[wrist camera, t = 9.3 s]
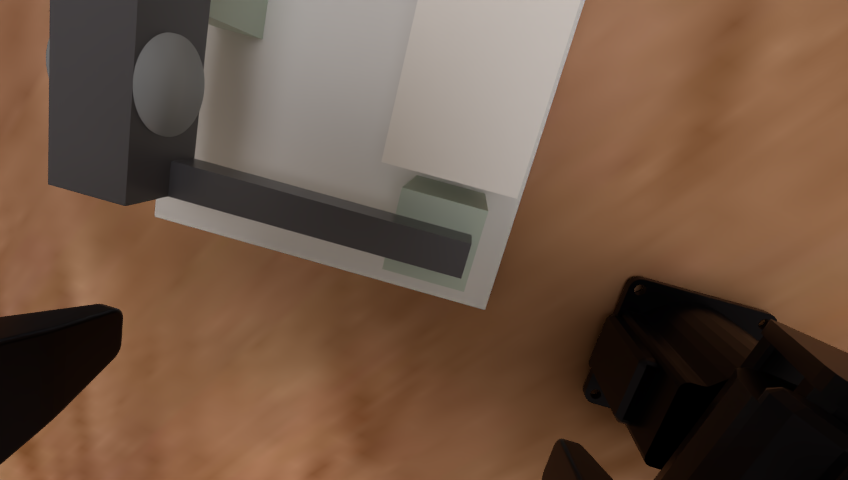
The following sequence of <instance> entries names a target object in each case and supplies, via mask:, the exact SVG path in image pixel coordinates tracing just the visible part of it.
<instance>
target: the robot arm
mask: <svg viewBox="0 0 848 480" xmlns="http://www.w3.org/2000/svg"><path fill="white" fill-rule="evenodd" d="M637 285H643V289H642V290H641V291H639V292H634V288H635V287H636V286H637ZM763 319H765V322H764V323H763V325H760V326H758V324H759V322H760V321H761V320H763ZM122 325H123V314H122V312H121V311H120V310H119V309H117V308H114V307H110V306H107V305H103V304H94V305H87V306H79V307H72V308H64V309H57V310H49V311H42V312H35V313H27V314H20V315H12V316H5V317H0V464H1V463H3V462H4V461H5V460H6V459H7V458H9V457H10V456H11V455H12V454H13V453H14V452H16V451H17V450H18V449H19V448H20V447H21V446H23V445H24V444H25V443H26V442H27V441H29V440H30V439H31V438H32V437H33V436H34V435H36V434H37V433H38V432H39V431H40V430H41V429H43V428H44V427H45V426H46V425H47V424H48V423H49V422H51V421H52V420H53V419H54V418H55V417H56V416H57V415H58V414H59V413H60V412H61V411H62V410H63V409H64V408H65V407H66V406H67V405H68V404H69V403H70V402H71V401H72V400H73V399H74V398H75V397H76V396H77V395H78V394H79V393H80V392H81V391H82V390H83V389H84V388H85V387H86V386H87V385H88V384H89V383H90V382H91V381H92V380H93V379H94V378H95V377H96V376H97V375H98V374H99V373H100V372H101V371H102V370H103V369H104V368H105V367H106V366H107V365H108V364H109V363H110V362H111V361H112V360H113V359H114V358H115V357H116V355H117V354H118V352H119V350H120V347H121V341H122ZM589 365H590V367H591V369H590V372H589V374H588V376H587V379H586V381H585V384H584V386H583V392H584V395H585V397H586V399H587V400H588V401H589V402H591V403H594V404H598V405H601V406H605V407H608V408H611V410H612V412H613V414H614V416H615V418H616V420H617V421H618V422H620V423H623V424H626V426H627V428H628V430H629V432H630V434H631V436H632V438H633V440H634V442H635V444H636V446H637V448H638V449H639V451H640V453H641V455H642V457H643V459H644V461H645V463H646V464H647V465H649V466H651V467H654V468H657V469H661V471H660V472H659V473H658V475H657V476H656V477H655V479H654V480H848V353H846V352H844V351H842V350H840V349H837V348H835V347H833V346H831V345H828V344H826V343H824V342H822V341H820V340H817V339H815V338H813V337H811V336H808V335H806V334H804V333H802V332H799V331H797V330H795V329H793V328H790V327H788V326H786V325H784V324H781V323H779V322H777V319H776V318H775V317H774V316H773V315H771V314H770V313H768V312H766V311H764V310H760V309H757V308H753V307H749V306H746V305H742V304H739V303H735V302H731V301H728V300H724V299H720V298H717V297H713V296H710V295H706V294H702V293H699V292H695V291H692V290H688V289H684V288H681V287H677V286H673V285H670V284H666V283H663V282H659V281H655V280H652V279H648V278H644V277H640V276H636V277H632V278H631V279H629V280H628V282H627V283H626V285H625V287H624V290H623V292H622V295H621V297H620V299H619V302H618V304H617V307H616V309H615V311H614V314H613V315H611V316H609V317H608V318H607V319H606V321H605V323H604V326H603V328H602V331H601V333H600V336H599V338H598V340H597V343H596V345H595V348H594V350H593V353H592V355H591V357H590V360H589ZM595 389H596V390H599V391H598V392H597V393H595V394H591V393H590V392H591V391H592V390H595ZM542 480H613V479H612V478H611V477H610V476H609V475H608V474H607V472H606V471H605V470H604V469H603V468H602V467H601V466H600V465H599V464H598V463H597V462H596V461H595V459H594V458H593V457H592V456H591V455H590V454H589V453H588V452H587V451H586V450H585V449H584V448H583V446H581V445H580V444H578V443H575V442H572V441H568V440H565V439H559V440H557V442H556V443H555V445H554V447H553V450H552V452H551V455H550V457H549V459H548V462H547V464H546V467H545V469H544V472H543V476H542Z"/></svg>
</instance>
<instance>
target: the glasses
mask: <svg viewBox="0 0 848 480" xmlns="http://www.w3.org/2000/svg"><path fill="white" fill-rule="evenodd" d="M210 3H211V0H50V38H49V41H48V45H47V50H46V66H47V72H48V76H49V152H48V184H49V185H53V186H56V187H60V188H63V189H67V190H70V191H74V192H77V193H81V194H84V195H88V196H92V197H95V198H99V199H102V200H106V201H109V202H113V203H116V204H120V205H123V206H128V205H132V204H137V203H141V202H145V201H150V200H154V199H159V198H163V197H172V198H175V199H179V200H182V201H186V202H189V203H193V204H196V205H200V206H204V207H207V208H211V209H214V210H218V211H221V212H225V213H228V214H232V215H236V216H239V217H243V218H246V219H250V220H253V221H257V222H261V223H264V224H268V225H271V226H275V227H278V228H282V229H285V230H289V231H293V232H296V233H300V234H303V235H307V236H310V237H314V238H317V239H321V240H325V241H328V242H332V243H335V244H339V245H342V246H346V247H349V248H353V249H357V250H360V251H364V252H367V253H371V254H374V255H378V256H382V257H385V258H389V259H392V260H396V261H399V262H403V263H406V264H410V265H414V266H417V267H421V268H424V269H428V270H431V271H435V272H438V273H442V274H446V275H449V276H453V277H456V278H460V279H461V278H462V275H463V271H464V268H465V265H466V261H467V258H468V254H469V251H470V248H471V244H472V235H470V234H467V233H463V232H459V231H456V230H452V229H449V228H445V227H441V226H438V225H434V224H430V223H427V222H423V221H420V220H416V219H412V218H409V217H405V216H402V215H398V214H394V213H391V212H387V211H383V210H380V209H376V208H373V207H369V206H365V205H362V204H358V203H355V202H351V201H347V200H344V199H340V198H336V197H333V196H329V195H326V194H322V193H318V192H315V191H311V190H307V189H304V188H300V187H297V186H293V185H289V184H286V183H282V182H279V181H275V180H271V179H268V178H264V177H260V176H257V175H253V174H250V173H246V172H242V171H239V170H235V169H231V168H228V167H224V166H221V165H217V164H213V163H210V162H206V161H203V160H199V159H195V158H194V157H195V148H196V138H197V128H198V119H199V111H200V108H201V105H202V101H203V97H204V88H205V78H204V61H205V51H206V42H207V32H208V22H209V13H210Z"/></svg>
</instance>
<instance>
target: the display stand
mask: <svg viewBox="0 0 848 480" xmlns="http://www.w3.org/2000/svg"><path fill="white" fill-rule="evenodd" d="M584 2H585V0H211V3H210V13H209V22H208V32H207V42H206V51H205V61H204V78H205V88H204V97H203V101H202V105H201V108H200V111H199V119H198V128H197V138H196V148H195V157H194V158H195V159H199V160H203V161H206V162H210V163H213V164H217V165H221V166H224V167H228V168H231V169H235V170H239V171H242V172H246V173H250V174H253V175H257V176H260V177H264V178H268V179H271V180H275V181H279V182H282V183H286V184H289V185H293V186H297V187H300V188H304V189H307V190H311V191H315V192H318V193H322V194H326V195H329V196H333V197H336V198H340V199H344V200H347V201H351V202H355V203H358V204H362V205H365V206H369V207H373V208H376V209H380V210H383V211H387V212H391V213H394V214H398V215H402V216H405V217H409V218H412V219H416V220H420V221H423V222H427V223H430V224H434V225H438V226H441V227H445V228H449V229H452V230H456V231H459V232H463V233H467V234H470V235H472V244H471V248H470V251H469V254H468V258H467V261H466V265H465V268H464V271H463V275H462V278H461V279H460V278H456V277H453V276H449V275H446V274H442V273H438V272H435V271H431V270H428V269H424V268H421V267H417V266H414V265H410V264H406V263H403V262H399V261H396V260H392V259H389V258H385V257H382V256H378V255H374V254H371V253H367V252H364V251H360V250H357V249H353V248H349V247H346V246H342V245H339V244H335V243H332V242H328V241H325V240H321V239H317V238H314V237H310V236H307V235H303V234H300V233H296V232H293V231H289V230H285V229H282V228H278V227H275V226H271V225H268V224H264V223H261V222H257V221H253V220H250V219H246V218H243V217H239V216H236V215H232V214H228V213H225V212H221V211H218V210H214V209H211V208H207V207H204V206H200V205H196V204H193V203H189V202H186V201H182V200H179V199H175V198H172V197H163V198H159V199H156V205H155V217H158V218H162V219H165V220H169V221H172V222H176V223H179V224H183V225H186V226H190V227H193V228H197V229H200V230H204V231H208V232H211V233H215V234H218V235H222V236H225V237H229V238H232V239H236V240H239V241H243V242H246V243H250V244H253V245H257V246H260V247H264V248H268V249H271V250H275V251H278V252H282V253H285V254H289V255H292V256H296V257H299V258H303V259H306V260H310V261H313V262H317V263H320V264H324V265H328V266H331V267H335V268H338V269H342V270H345V271H349V272H352V273H356V274H359V275H363V276H366V277H370V278H373V279H377V280H380V281H384V282H388V283H391V284H395V285H398V286H402V287H405V288H409V289H412V290H416V291H419V292H423V293H426V294H430V295H433V296H437V297H440V298H444V299H448V300H451V301H455V302H458V303H462V304H465V305H469V306H472V307H476V308H479V309H483V310H485V308H486V305H487V302H488V299H489V296H490V293H491V290H492V287H493V284H494V281H495V278H496V274H497V271H498V268H499V265H500V262H501V259H502V256H503V253H504V250H505V247H506V243H507V240H508V237H509V234H510V231H511V228H512V225H513V222H514V219H515V216H516V213H517V209H518V206H519V203H520V200H521V197H522V194H523V191H524V188H525V185H526V182H527V178H528V175H529V172H530V169H531V166H532V163H533V160H534V157H535V154H536V151H537V147H538V144H539V141H540V138H541V135H542V132H543V129H544V126H545V123H546V120H547V117H548V113H549V110H550V107H551V104H552V101H553V98H554V95H555V92H556V89H557V86H558V82H559V79H560V76H561V73H562V70H563V67H564V64H565V61H566V58H567V55H568V51H569V48H570V45H571V42H572V39H573V36H574V33H575V30H576V27H577V24H578V21H579V17H580V14H581V11H582V8H583V5H584Z"/></svg>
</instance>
